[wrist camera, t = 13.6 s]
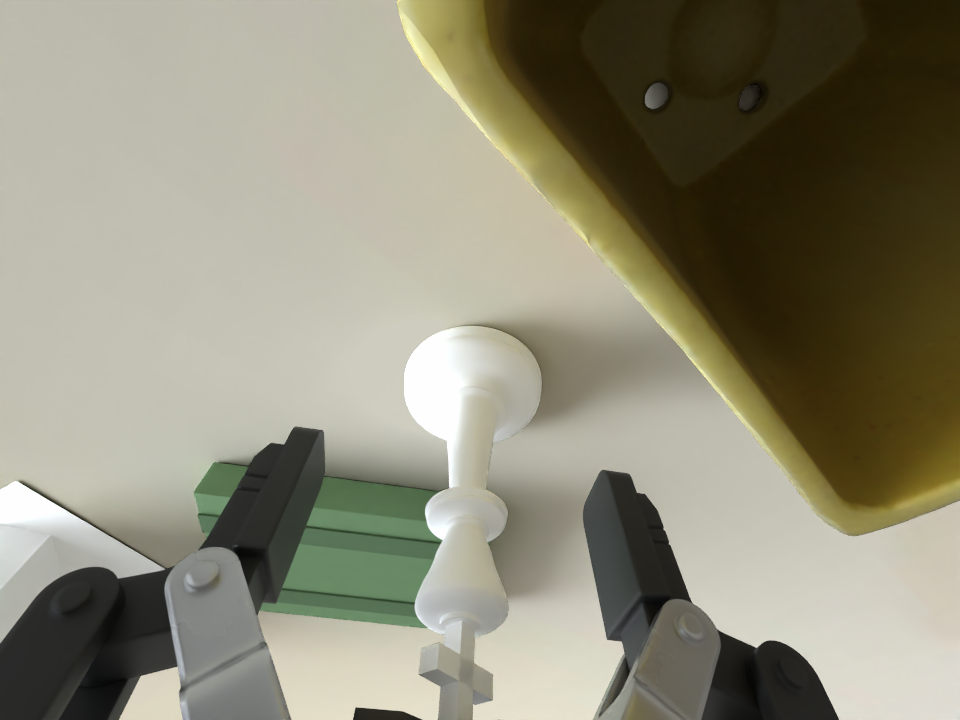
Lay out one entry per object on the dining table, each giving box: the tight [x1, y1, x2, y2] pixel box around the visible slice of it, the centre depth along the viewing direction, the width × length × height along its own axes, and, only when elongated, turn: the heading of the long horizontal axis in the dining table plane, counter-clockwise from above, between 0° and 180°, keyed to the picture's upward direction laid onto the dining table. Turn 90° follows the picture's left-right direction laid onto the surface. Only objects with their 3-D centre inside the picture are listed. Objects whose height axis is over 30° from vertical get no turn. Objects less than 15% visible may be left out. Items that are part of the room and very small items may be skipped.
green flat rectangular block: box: [194, 462, 490, 628], centre depth 21 cm, size 12×9×2 cm
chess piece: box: [404, 326, 542, 720], centre depth 12 cm, size 5×5×10 cm
